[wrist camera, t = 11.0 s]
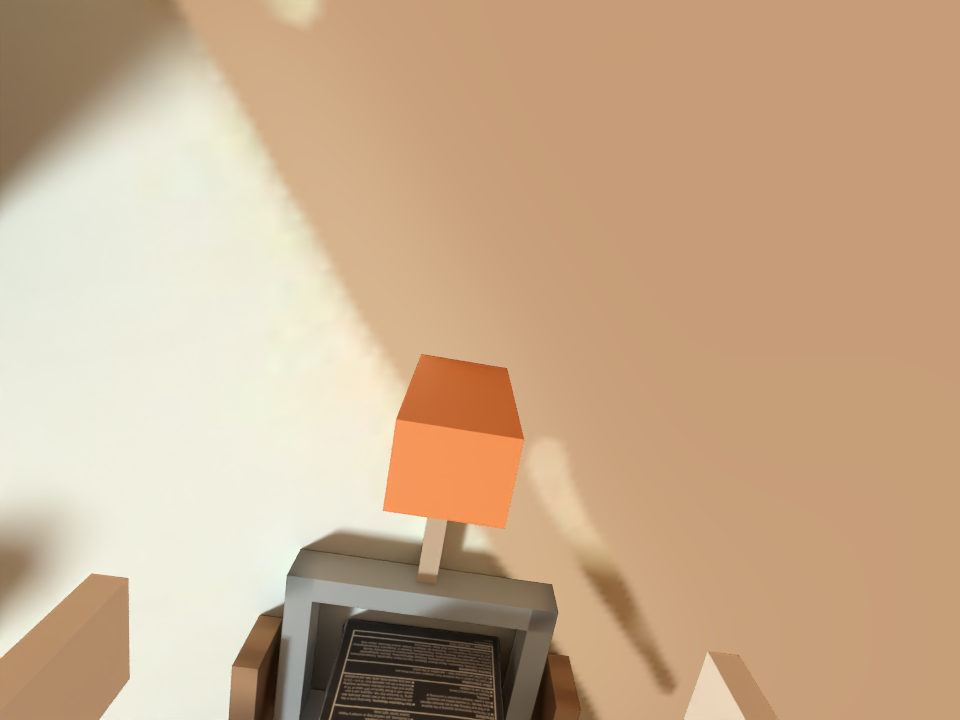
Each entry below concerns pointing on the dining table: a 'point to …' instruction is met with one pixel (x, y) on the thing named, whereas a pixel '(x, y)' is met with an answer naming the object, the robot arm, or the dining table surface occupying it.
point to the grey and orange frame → (432, 536)
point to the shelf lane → (260, 668)
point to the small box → (413, 675)
